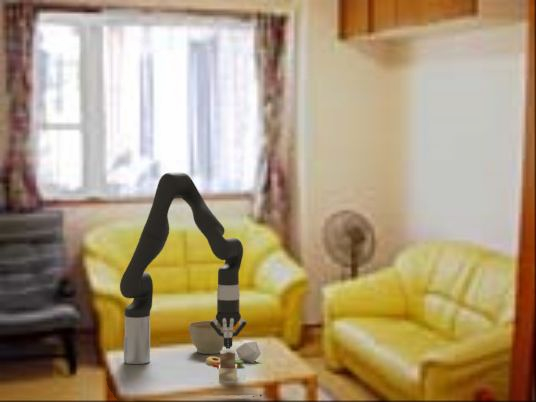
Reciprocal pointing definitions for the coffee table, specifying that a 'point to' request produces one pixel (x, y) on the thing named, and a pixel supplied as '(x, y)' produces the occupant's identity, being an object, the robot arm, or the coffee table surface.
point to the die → (248, 351)
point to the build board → (240, 379)
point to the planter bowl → (206, 337)
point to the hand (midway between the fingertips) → (228, 348)
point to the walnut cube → (227, 359)
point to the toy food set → (216, 361)
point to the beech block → (228, 373)
